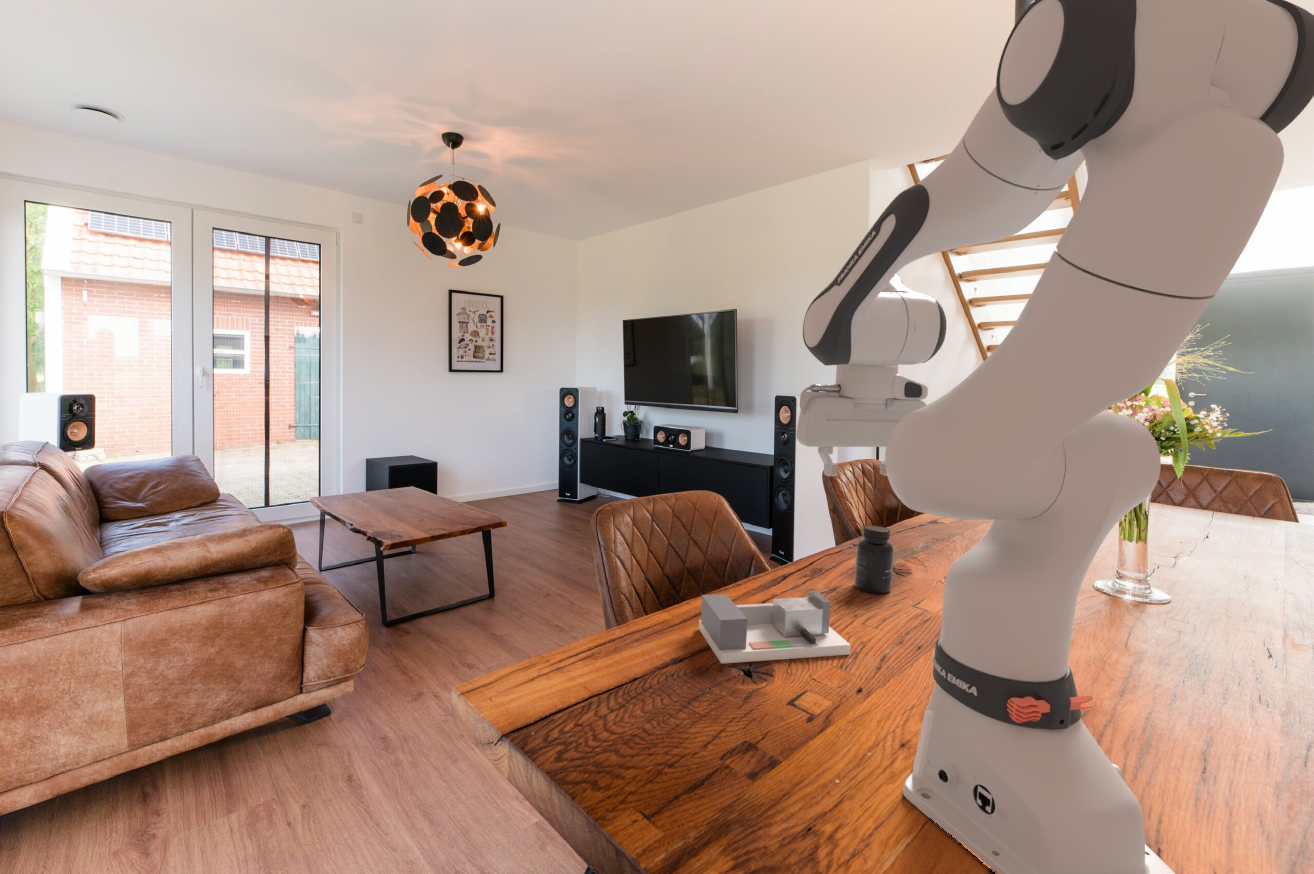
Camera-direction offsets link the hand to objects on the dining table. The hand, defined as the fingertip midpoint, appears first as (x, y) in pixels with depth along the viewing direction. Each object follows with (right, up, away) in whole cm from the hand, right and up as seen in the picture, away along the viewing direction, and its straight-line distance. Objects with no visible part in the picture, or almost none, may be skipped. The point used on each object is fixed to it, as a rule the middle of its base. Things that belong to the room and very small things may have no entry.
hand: (858, 475), depth 96 cm
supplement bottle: (+11, -24, +26) cm, 37 cm away
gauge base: (-13, -26, +1) cm, 29 cm away
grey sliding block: (-8, -24, 0) cm, 26 cm away
